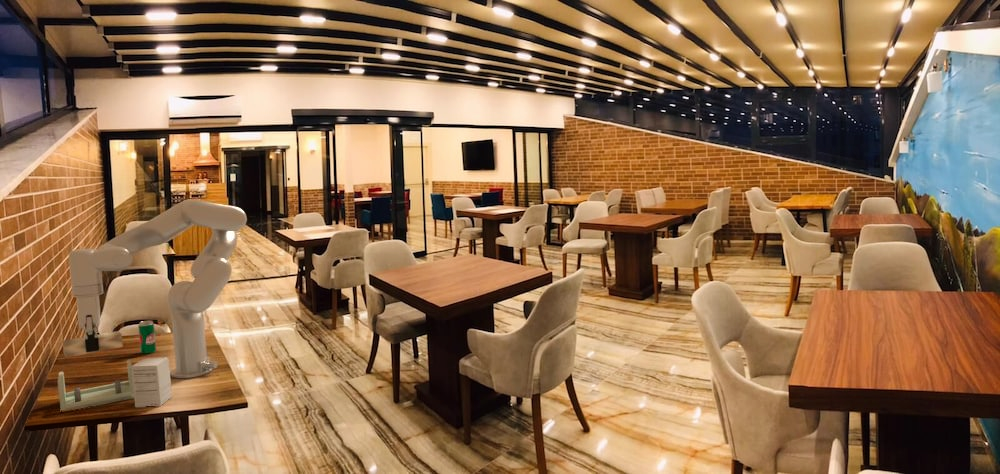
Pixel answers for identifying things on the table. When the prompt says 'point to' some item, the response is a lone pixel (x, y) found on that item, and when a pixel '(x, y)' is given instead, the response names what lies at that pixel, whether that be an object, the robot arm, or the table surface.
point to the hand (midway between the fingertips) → (93, 348)
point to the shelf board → (79, 347)
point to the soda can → (147, 337)
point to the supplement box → (151, 382)
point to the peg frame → (95, 393)
